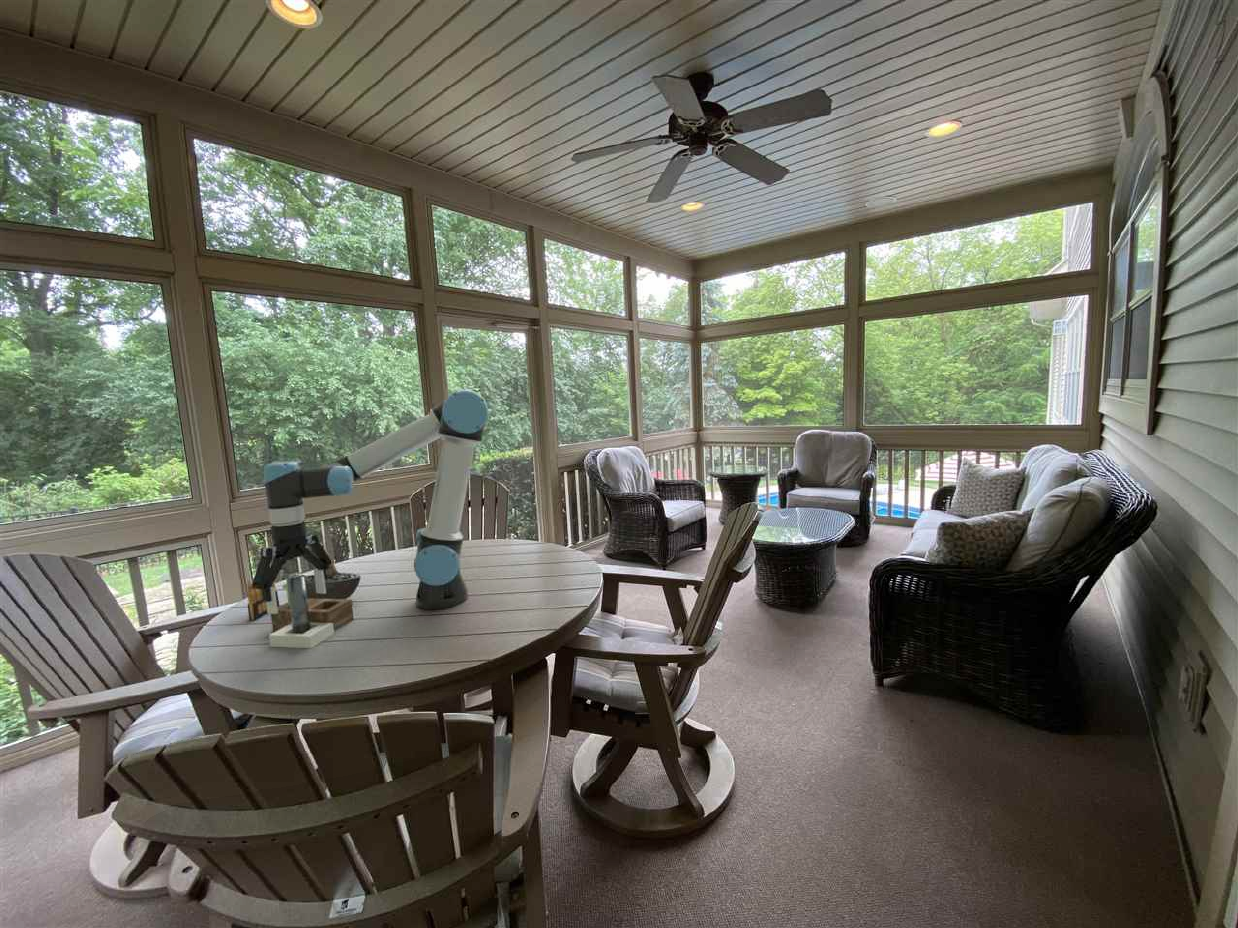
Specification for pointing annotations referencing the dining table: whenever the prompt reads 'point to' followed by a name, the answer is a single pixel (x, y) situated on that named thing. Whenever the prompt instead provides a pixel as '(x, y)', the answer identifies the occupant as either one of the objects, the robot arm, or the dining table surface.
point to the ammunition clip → (257, 602)
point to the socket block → (318, 613)
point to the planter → (333, 583)
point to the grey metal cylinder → (298, 603)
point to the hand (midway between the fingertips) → (298, 602)
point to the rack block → (301, 636)
